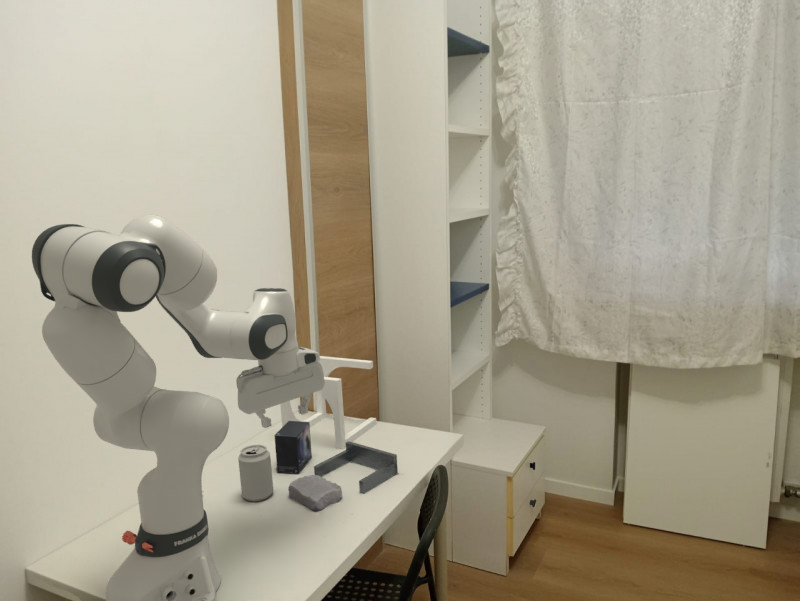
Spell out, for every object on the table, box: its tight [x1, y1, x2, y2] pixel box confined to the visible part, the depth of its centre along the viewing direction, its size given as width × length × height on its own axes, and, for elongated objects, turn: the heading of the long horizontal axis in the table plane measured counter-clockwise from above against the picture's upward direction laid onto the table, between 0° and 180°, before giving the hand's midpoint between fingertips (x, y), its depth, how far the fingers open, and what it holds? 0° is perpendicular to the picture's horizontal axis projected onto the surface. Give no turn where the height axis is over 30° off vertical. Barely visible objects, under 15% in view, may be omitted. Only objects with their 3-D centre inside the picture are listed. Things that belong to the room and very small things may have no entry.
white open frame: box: [279, 355, 377, 450], centre depth 200 cm, size 20×20×20 cm
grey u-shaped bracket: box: [313, 441, 398, 494], centre depth 172 cm, size 13×16×5 cm
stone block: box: [287, 474, 343, 512], centre depth 162 cm, size 12×5×10 cm
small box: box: [274, 420, 313, 475], centre depth 180 cm, size 11×6×10 cm, turn 168°
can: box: [237, 444, 274, 502], centre depth 163 cm, size 8×8×12 cm
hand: (285, 419), depth 150 cm, fingers open, 8 cm apart
